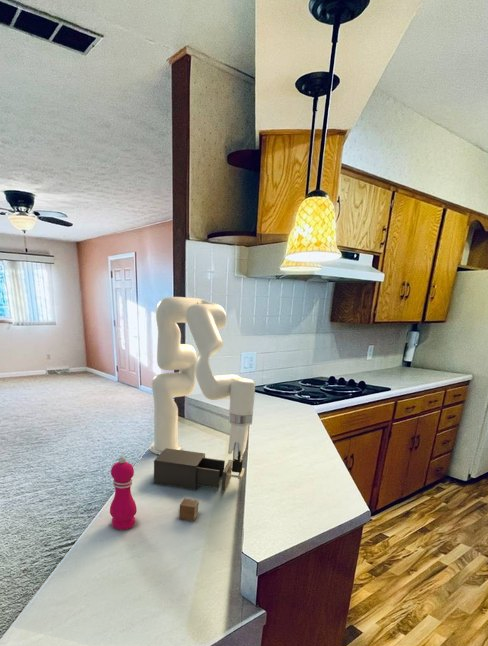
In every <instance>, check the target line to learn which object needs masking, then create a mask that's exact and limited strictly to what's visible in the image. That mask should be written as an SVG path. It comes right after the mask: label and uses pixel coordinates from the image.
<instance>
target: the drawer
mask: <svg viewBox="0 0 488 646" xmlns="http://www.w3.org/2000/svg"><path fill="white" fill-rule="evenodd" d="M232 461H233V459H228V460H227V463H226V460H225V459H217V458H209V457H205V458H203V459H202V461H201V462H200V464H199V465H198V467H197V474H196V485H198V487H199V486H200V487H205V488H206V487H207V488H214V489H219V487H220V485H221V488H220V491H221V492H226V489H227V487H228V485H229V483H230V481H231V479H232V478H236V479H238V480H242V478H243V476H244V474H245V471H246V469H245V468H244V467H242V471H241V473H238V475H237V474H232Z"/></svg>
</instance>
